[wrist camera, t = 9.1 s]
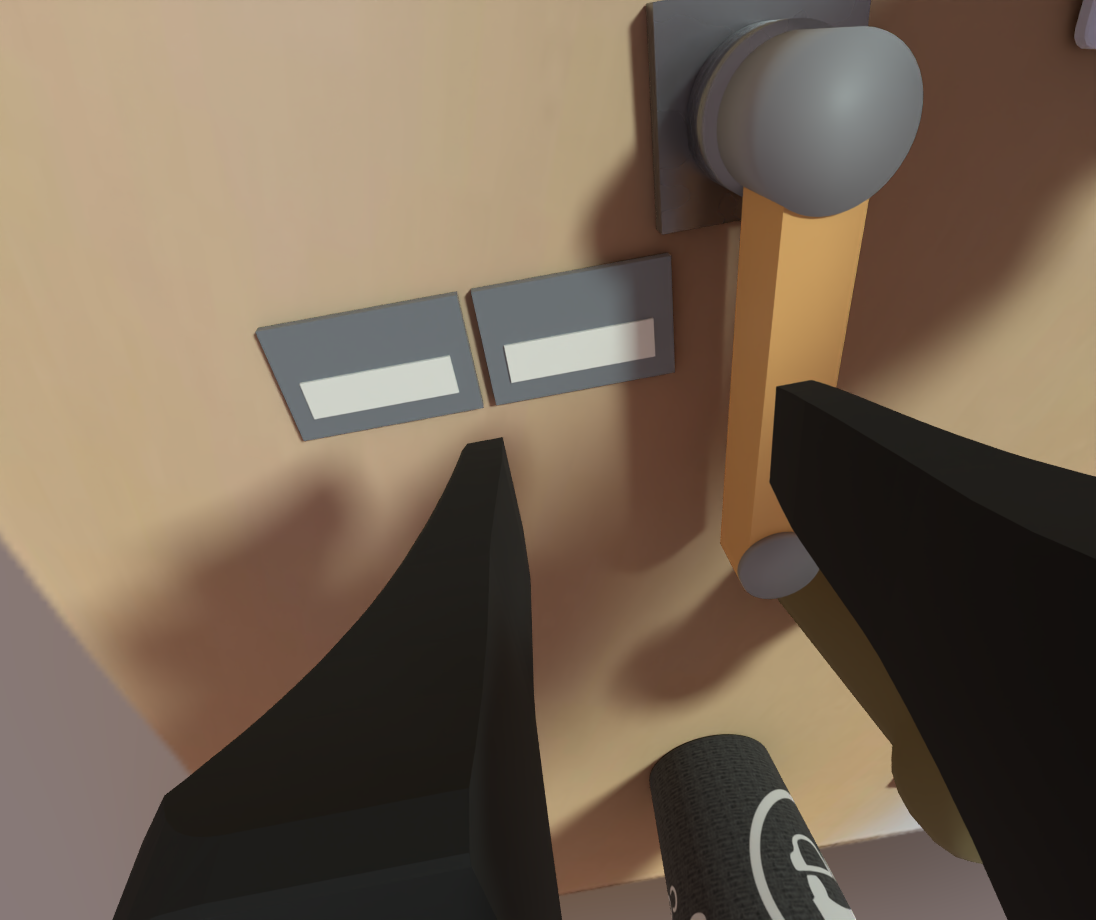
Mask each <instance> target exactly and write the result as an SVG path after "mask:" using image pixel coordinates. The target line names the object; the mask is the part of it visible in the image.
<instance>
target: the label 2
mask: <svg viewBox="0 0 1096 920" xmlns="http://www.w3.org/2000/svg"><path fill="white" fill-rule="evenodd" d="M471 294H472V299H473V303H474V308H475V312H476V317H477V321H478V326H479V330H480V335H481V339H482V344H483V348H484V353H485V357H486V361H487V366H488V370H489V375H490V379H491V384H492V388H493V393H494V397H495V402H496V405H501V404H507V403H512V402H517V401H523V400H528V399H533V398H539V397H544V396H550V395H555V394H560V393H566V392H571V391H577V390H582V389H587V388H593V387H598V386H604V385H609V384H614V383H620V382H625V381H631V380H636V379H641V378H647V377H652V376H658V375H663V374H668V373H674V372H675V360H674V330H673V300H672V270H671V255H670V254H669V253H664V254H658V255H653V256H647V257H642V258H636V259H631V260H625V261H620V262H614V263H609V264H604V265H598V266H593V267H587V268H582V269H576V270H571V271H565V272H560V273H554V274H549V275H544V276H538V277H533V278H527V279H522V280H516V281H511V282H505V283H500V284H495V285H489V286H484V287H478V288H473V289H471Z"/></svg>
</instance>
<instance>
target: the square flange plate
mask: <svg viewBox="0 0 1096 920" xmlns="http://www.w3.org/2000/svg"><path fill="white" fill-rule="evenodd" d="M870 4H871V0H663V1H657V2H652V3H648V4H646V13H647V35H648V57H649V79H650V101H651V123H652V145H653V167H654V189H655V210H656V229H657V230H658V231H659V232H660V233H661V234H668V233H673V232H678V231H684V230H689V229H695V228H700V227H706V226H711V225H717V224H722V223H728V222H733V221H739V220H741V217H742V202H743V186H742V185H740V184H739V183H738V182H737V181H736V180H734V178H733V177H732V176H731V175H730V174H729V172H728V171H727V169H726V167H725V166H724V164H723V161H722V159H721V156H720V152H719V149H718V143H717V118H718V112H719V107H720V104H721V100H722V97H723V94H724V92H725V90H726V87H727V85H728V83H729V81H730V79H731V78H732V76H733V74H734V73H735V71H736V70H737V68H738V67H739V66H740V64H741V63H742V62H743V61H744V60H745V58H746V57H747V56H748V55H749V54H750V53H751V52H752V51H754V50H755V49H756V48H757V47H758V46H760V45H761V44H762V43H764V42H765V41H767V40H769V39H770V38H772V37H774V36H776V35H779V34H781V33H784V32H787V31H792V30H799V29H818V28H838V27H858V26H868V20H869V12H870Z"/></svg>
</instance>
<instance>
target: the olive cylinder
mask: <svg viewBox="0 0 1096 920" xmlns="http://www.w3.org/2000/svg"><path fill="white" fill-rule="evenodd" d="M777 599H778V600H779V601H780V603H781V604H782V605H783V607H784V608H785V609H786V610H787V612H788V613H789V614H790V615H791V617H792V618H793V619H794V621H795V622H796V623H797V624H798V626H799V627H800V628H801V629H802V631H803V632H804V633H805V635H806V636H807V637H808V638H809V640H810V641H811V642H812V643H813V645H814V646H815V647H816V648H817V650H818V651H819V652H820V654H821V655H822V656H823V657H824V659H825V660H826V661H827V662H828V664H829V665H830V666H831V668H832V669H833V670H834V671H835V673H836V674H837V675H838V676H839V678H840V679H841V680H842V682H843V683H844V684H845V685H846V687H847V688H848V689H849V690H850V692H851V693H852V694H853V696H854V697H855V698H856V699H857V701H858V702H859V703H860V704H861V706H862V707H863V708H864V710H865V711H866V712H867V713H868V715H869V716H870V717H871V718H872V720H873V721H874V722H875V724H876V725H877V726H878V727H879V729H880V730H881V731H882V732H883V734H884V735H885V736H886V738H887V739H888V740H889V741H890V743H891V744H892V774H893V777H894V780H895V783H896V787H897V790H898V793H899V795H900V797H901V798H902V800H903V802H904V804H905V806H906V807H907V809H908V811H909V813H910V814H911V816H912V817H913V818H914V819H915V820H916V821H917V823H918V824H919V825H920V826H921V827H922V828H923V829H924V831H925V832H926V833H927V834H928V835H929V836H930V837H931V838H932V840H933V841H934V842H935V843H937V844H938V845H939V846H941V847H942V848H944V849H945V850H947V851H948V852H950V853H951V854H953V855H954V856H955V857H958V858H961V859H964V860H967V861H971V862H976V863H981V864H983V863H982V861H981V859H980V856H979V854H978V852H977V849H976V847H975V845H974V843H973V840H972V838H971V836H970V834H969V832H968V830H967V828H966V826H965V824H964V822H963V820H962V817H961V815H960V813H959V811H958V809H957V807H956V805H955V803H954V801H953V799H952V797H951V795H950V792H949V790H948V788H947V786H946V784H945V782H944V780H943V778H942V776H941V774H940V772H939V769H938V767H937V765H936V764H935V762H934V760H933V758H932V756H931V754H930V752H929V750H928V748H927V746H926V744H925V742H924V740H923V738H922V736H921V734H920V732H919V730H918V729H917V727H916V725H915V723H914V721H913V719H912V717H911V715H910V713H909V711H908V709H907V707H906V705H905V704H904V702H903V700H902V698H901V696H900V694H899V693H898V691H897V689H896V687H895V685H894V684H893V682H892V680H891V678H890V676H889V674H888V673H887V671H886V669H885V667H884V665H883V663H882V662H881V660H880V658H879V656H878V654H877V653H876V651H875V650H874V648H873V647H872V645H871V643H870V642H869V640H868V639H867V637H866V636H865V634H864V632H863V631H862V629H861V628H860V626H859V625H858V624H857V622H856V621H855V619H854V618H853V616H852V615H851V614H850V612H849V611H848V609H847V608H846V606H845V605H844V604H843V602H842V601H841V599H840V598H839V596H838V595H837V593H836V592H835V591H834V589H833V588H832V586H831V585H830V583H829V582H828V581H827V579H826V578H825V576H824V575H823V573H822V572H821V571H820V569H819V571H818V572H817V574H816V576H815V577H814V578H813V579H812V580H811V581H810V582H809V583H808V584H807V585H806V586H805V587H803V588H802V589H800V590H798V591H797V592H795V593H793V594H790V595H787V596H784V597H780V598H777Z"/></svg>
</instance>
